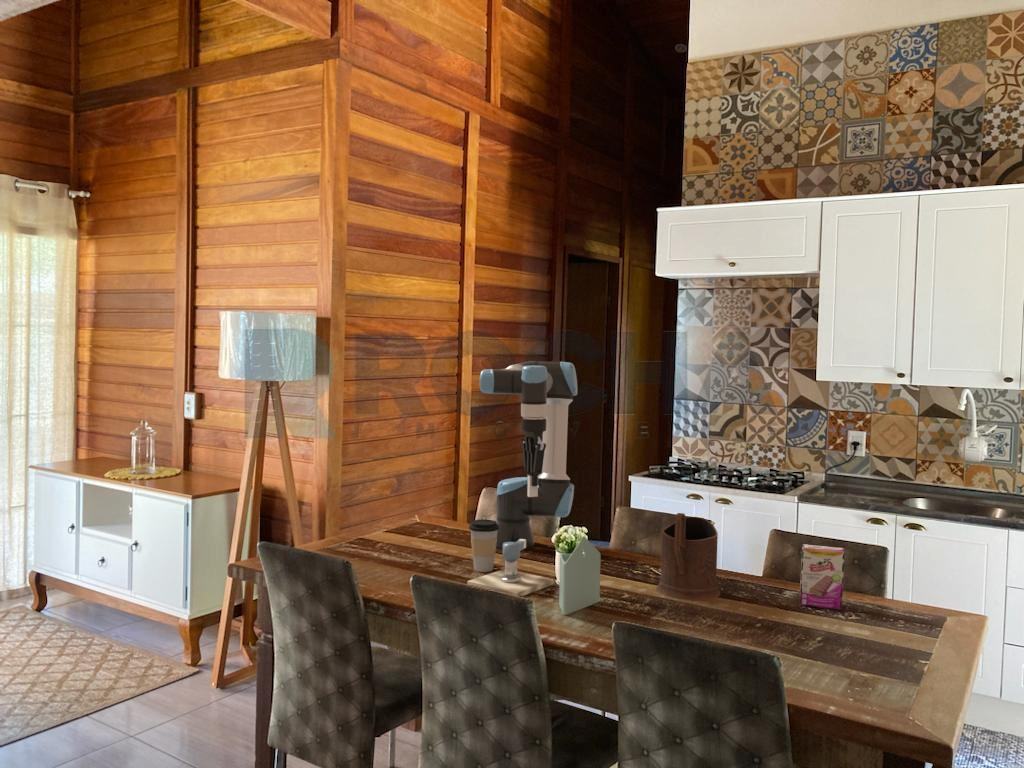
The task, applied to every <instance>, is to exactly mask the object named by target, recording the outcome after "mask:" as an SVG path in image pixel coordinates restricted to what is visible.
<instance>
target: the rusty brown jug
mask: <svg viewBox="0 0 1024 768" xmlns="http://www.w3.org/2000/svg"><path fill="white" fill-rule="evenodd" d="M674 519H675V521H674V522H673V523H670V524H669V525H668V526H666V527H665V528H663V529H662V531H661V553H660V554H661V557H660V559H661V561H660V579H659V583H658V584H657V586H656V587H655V590H656V592H657V593H658V594H659V595H663V596H664V597H668V598H671V599H677V600H681V601H682V600H683V601H694V602H695V601H708V600H714V599H717V598H719V597H720V596H721V594H722V593H721V591H720V589H719V588H718V587H719V586H718V582H717V570H718V569H717V564H718V563H717V562H718V538H719V537H718V535H719V533H718V531H717V529H716V527H715V526H714V524H713V523H712V522H711V521H710V520H708V519H706V518H704V517H698V516H686V514H685V513H683V512H682V513H681V512H678V513H677V514H676V516H675V518H674Z"/></svg>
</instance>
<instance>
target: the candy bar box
mask: <svg viewBox="0 0 1024 768" xmlns="http://www.w3.org/2000/svg"><path fill="white" fill-rule="evenodd" d="M801 549H802V550H801V563H800V564H801V565H800V566H801V567H800V580H799V581H800V583H799V585H800V586H799V606H805V607H813V608H820V609H830V610H837V611H842V609H843V607H842V606H843V592H844V591H843V590H844V589H843V587H844V574H845V573H844V571H845V570H844V569H845V568H844V567H845V549H844V547H835V546H827V545H826V546H825V545H823V546H822V545H815V544H806V543H805V544H804V543H803V544H802V548H801Z"/></svg>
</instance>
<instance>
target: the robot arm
mask: <svg viewBox="0 0 1024 768" xmlns="http://www.w3.org/2000/svg"><path fill="white" fill-rule="evenodd" d="M576 372H577V371H576V368H575V365H574V364H573V363H572V362H567V361H536V360H535V361H534V360H533V361H532V360H528V361H524V362H520V363H516V364H510V365H509V366H508V367H506V368H499V369H496V368H495V369H492V368H490V369H483V370H481V372H480V374H479V381H478V382H479V390H480V392H481V393H483V394H489V395H492V394H493V395H521V403H520V416H521V417H522V418H521V419H520V430H521V431H522V432H524V438H521V440H520V441H521V447H522V457H523V469H524V472H526V475H527V476H523V477H522V476H521V477H517V476H516V477H511V478H506V479H501V481H499V482H498V484H497V487H496V488H497V489H496V491H497V492H496V522H497V525H498V526H499V529H498V530H497V543H496V548H498V549H503V543H505V542H516V541H518V540H519V539H526V548H525V549H528V548H532V547H534V546H535V537H534V533H533V530H532V527H531V519H530V518H531V517H547V518H548V517H549V518H567V517H568V516H569V514H570V512H571V509H572V506H573V500H574V495H575V485H574V484H573V483H571V478H570V477H569V476H568V474H567V452H568V451H567V450H568V425H569V424H568V421H569V420H568V419H569V405H570V404H571V403H572V402H573V401H574V400H573V399H574V397H575V396H577V395H578V378H577V373H576Z"/></svg>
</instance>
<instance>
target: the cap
mask: <svg viewBox="0 0 1024 768" xmlns="http://www.w3.org/2000/svg"><path fill="white" fill-rule="evenodd" d="M524 549H527V548H526V539H519V540H518V541H516V542H505V543H503V548H502V559H504V560H505V559H509V560H514V559H517V560H518V559H520V558H521V557H520V556H521V555H520V552H521V551H523V550H524Z"/></svg>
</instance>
